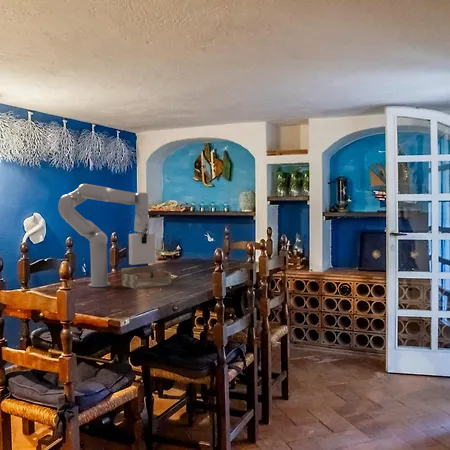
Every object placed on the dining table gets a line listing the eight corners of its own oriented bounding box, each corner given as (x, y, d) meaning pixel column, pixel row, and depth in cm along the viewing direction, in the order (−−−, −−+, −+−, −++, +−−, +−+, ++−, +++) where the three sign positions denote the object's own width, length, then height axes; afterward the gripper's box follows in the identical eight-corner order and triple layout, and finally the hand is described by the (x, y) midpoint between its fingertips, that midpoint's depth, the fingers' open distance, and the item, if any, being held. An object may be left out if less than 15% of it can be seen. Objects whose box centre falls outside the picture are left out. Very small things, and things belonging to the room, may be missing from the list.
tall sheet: (129, 264, 295) (128, 234, 294) (151, 262, 305) (151, 233, 305) (132, 264, 292) (132, 234, 291) (155, 262, 302) (155, 233, 302)
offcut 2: (149, 285, 296) (149, 271, 295) (160, 283, 301) (160, 270, 301) (153, 285, 293) (153, 272, 292) (164, 284, 298) (164, 271, 298)
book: (136, 283, 302) (135, 242, 301) (125, 283, 304) (124, 242, 302) (148, 277, 323) (148, 239, 322) (138, 277, 325) (138, 239, 324)
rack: (121, 285, 295) (121, 268, 294) (155, 280, 311) (155, 265, 310) (136, 288, 282) (135, 271, 282) (171, 284, 298) (170, 267, 298)
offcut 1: (135, 287, 289) (135, 273, 289) (146, 285, 294) (146, 272, 294) (139, 287, 286) (138, 274, 286) (150, 286, 291) (150, 272, 291)
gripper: (129, 212, 301) (129, 242, 302) (144, 213, 289) (144, 244, 289) (139, 212, 306) (140, 242, 307) (154, 213, 294) (155, 243, 294)
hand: (142, 243), depth 298 cm, fingers closed on tall sheet, 4 cm apart
